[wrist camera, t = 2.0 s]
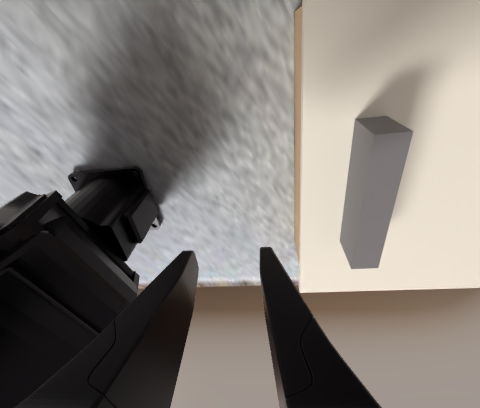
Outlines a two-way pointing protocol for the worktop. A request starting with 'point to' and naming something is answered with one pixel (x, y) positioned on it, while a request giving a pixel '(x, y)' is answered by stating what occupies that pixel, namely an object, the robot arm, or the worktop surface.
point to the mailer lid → (390, 145)
